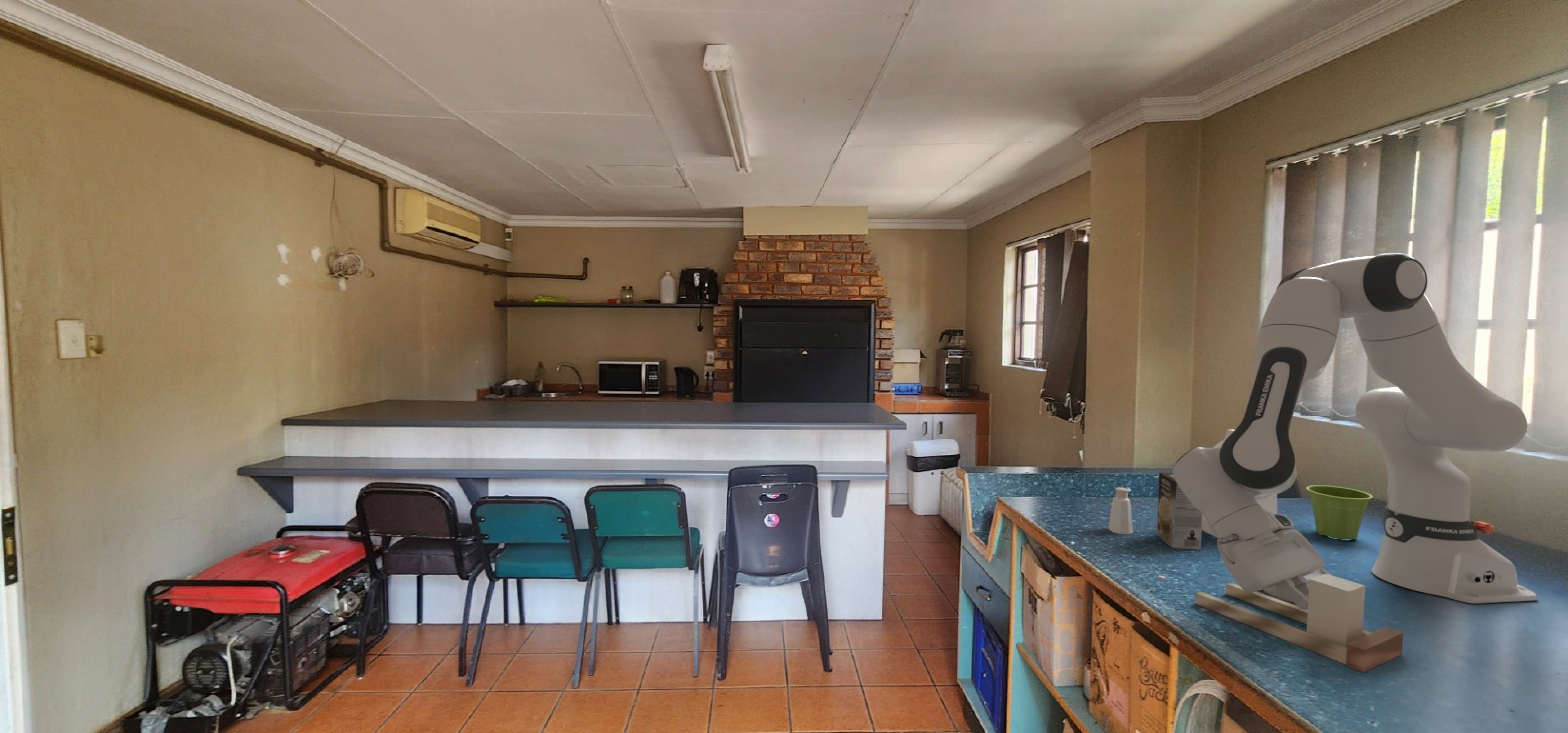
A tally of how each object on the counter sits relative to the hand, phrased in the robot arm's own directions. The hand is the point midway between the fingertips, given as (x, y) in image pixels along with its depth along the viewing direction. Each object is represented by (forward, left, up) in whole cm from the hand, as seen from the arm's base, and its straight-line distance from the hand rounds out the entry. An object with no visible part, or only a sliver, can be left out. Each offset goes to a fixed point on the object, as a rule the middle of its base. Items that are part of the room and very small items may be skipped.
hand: (1311, 607), depth 97 cm
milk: (-19, -50, -5) cm, 54 cm away
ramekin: (-8, -16, -5) cm, 19 cm away
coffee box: (-2, -43, -5) cm, 43 cm away
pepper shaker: (+8, -50, -5) cm, 51 cm away
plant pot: (-43, -51, -5) cm, 67 cm away
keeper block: (-2, +3, -5) cm, 6 cm away
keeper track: (+2, -2, -5) cm, 6 cm away
